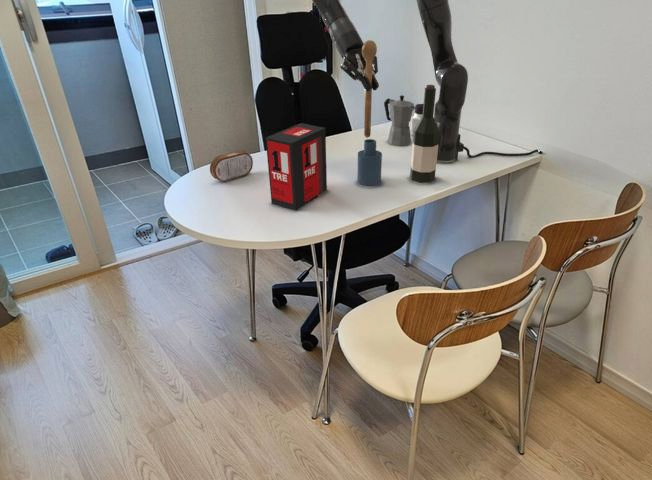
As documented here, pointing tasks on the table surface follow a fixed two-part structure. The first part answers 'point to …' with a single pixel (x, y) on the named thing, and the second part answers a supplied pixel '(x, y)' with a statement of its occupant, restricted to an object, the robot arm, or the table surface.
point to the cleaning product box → (297, 165)
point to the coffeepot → (399, 121)
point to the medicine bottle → (417, 116)
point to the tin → (231, 165)
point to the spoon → (368, 54)
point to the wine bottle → (425, 141)
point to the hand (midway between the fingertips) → (373, 89)
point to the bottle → (369, 164)
